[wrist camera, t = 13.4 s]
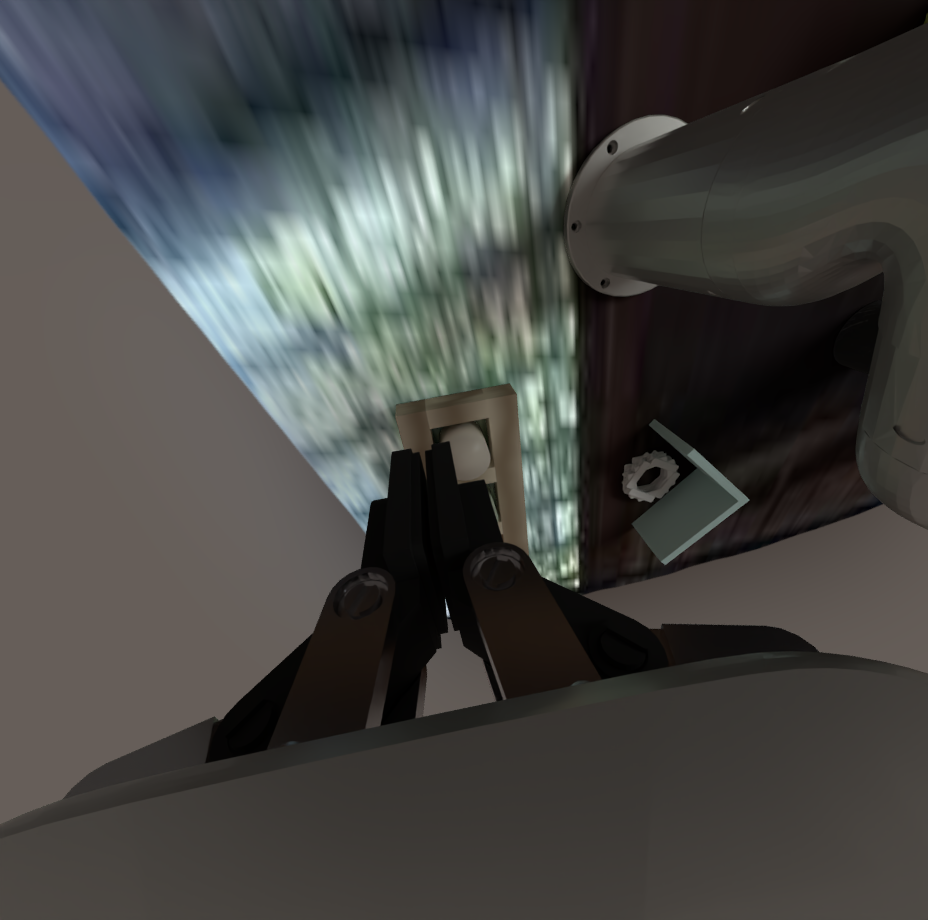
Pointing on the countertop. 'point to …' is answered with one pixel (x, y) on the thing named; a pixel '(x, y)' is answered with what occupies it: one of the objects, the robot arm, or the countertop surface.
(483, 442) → the beige egg
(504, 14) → the countertop surface
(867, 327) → the travel mug
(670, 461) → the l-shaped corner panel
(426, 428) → the wooden rectangular frame
